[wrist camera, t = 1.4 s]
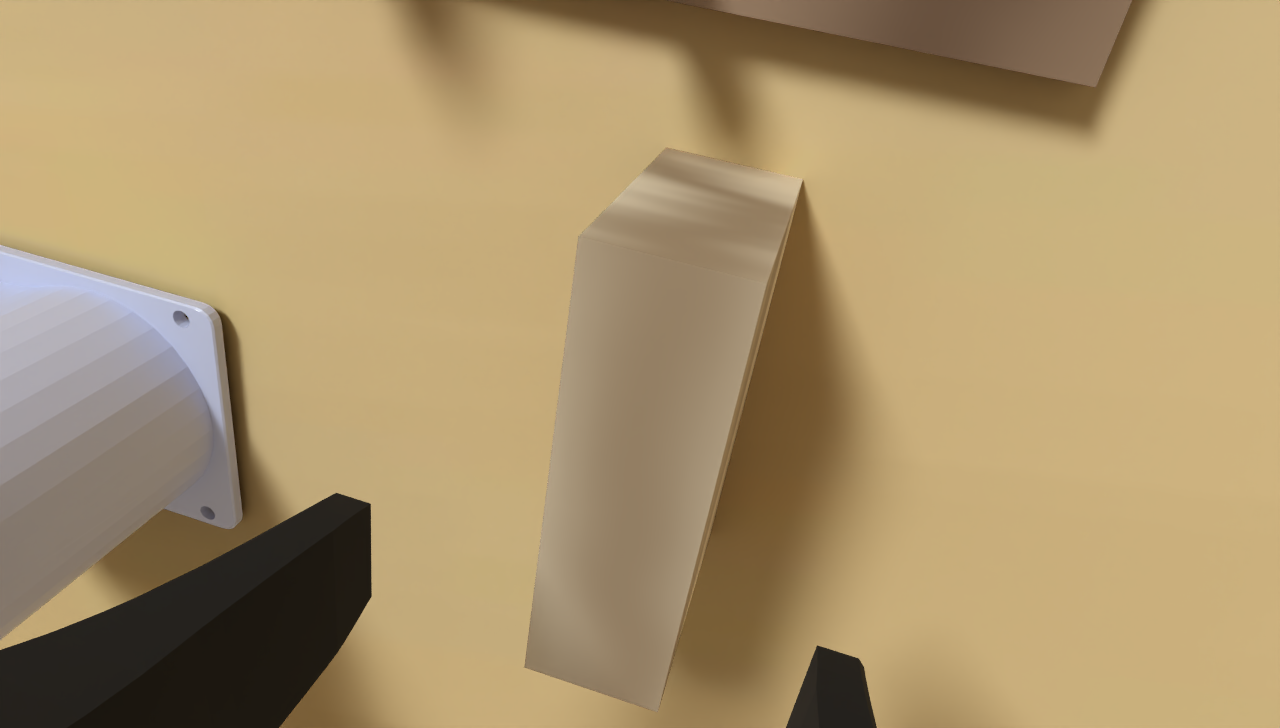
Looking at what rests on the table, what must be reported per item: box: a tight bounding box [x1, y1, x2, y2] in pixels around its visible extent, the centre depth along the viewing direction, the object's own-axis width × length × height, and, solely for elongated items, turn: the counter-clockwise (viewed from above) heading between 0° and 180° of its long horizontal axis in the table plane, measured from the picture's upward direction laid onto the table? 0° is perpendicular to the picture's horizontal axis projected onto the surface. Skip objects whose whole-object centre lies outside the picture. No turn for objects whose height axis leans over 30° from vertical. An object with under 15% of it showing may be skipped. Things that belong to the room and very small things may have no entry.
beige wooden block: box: [525, 148, 803, 712], centre depth 18 cm, size 3×10×6 cm, turn 171°
